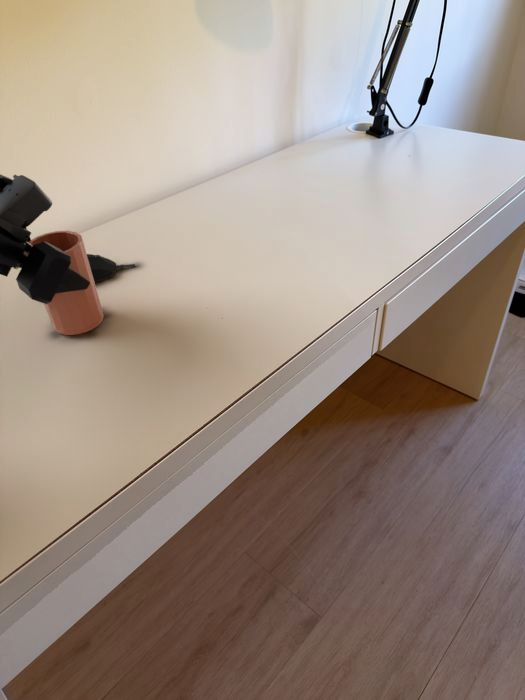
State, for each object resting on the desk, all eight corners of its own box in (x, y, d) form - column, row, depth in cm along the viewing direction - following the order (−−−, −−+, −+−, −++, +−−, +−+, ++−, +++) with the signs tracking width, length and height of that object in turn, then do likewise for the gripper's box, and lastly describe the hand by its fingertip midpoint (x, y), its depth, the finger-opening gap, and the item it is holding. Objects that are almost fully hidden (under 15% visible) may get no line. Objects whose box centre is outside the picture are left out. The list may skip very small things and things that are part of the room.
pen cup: (54, 340, 71) (26, 261, 63) (51, 313, 76) (23, 237, 68) (107, 327, 73) (85, 249, 65) (99, 301, 78) (78, 226, 70)
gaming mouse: (138, 275, 84) (133, 253, 82) (42, 295, 81) (34, 272, 79) (132, 257, 89) (127, 236, 87) (41, 275, 86) (33, 253, 83)
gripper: (27, 183, 52) (141, 244, 65) (-41, 144, 63) (68, 203, 76) (-23, 282, 53) (100, 323, 66) (-81, 227, 64) (34, 272, 77)
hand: (74, 275), depth 71 cm, fingers closed on pen cup, 7 cm apart
